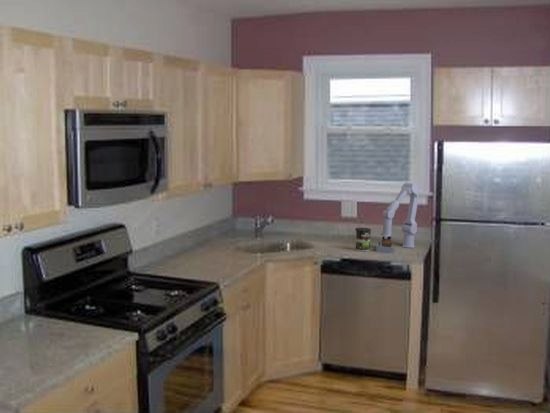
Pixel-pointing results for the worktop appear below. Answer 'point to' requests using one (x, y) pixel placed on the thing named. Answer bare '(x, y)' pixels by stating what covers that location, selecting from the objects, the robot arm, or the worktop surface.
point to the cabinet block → (386, 243)
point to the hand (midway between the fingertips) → (386, 247)
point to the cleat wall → (383, 248)
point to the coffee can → (362, 239)
